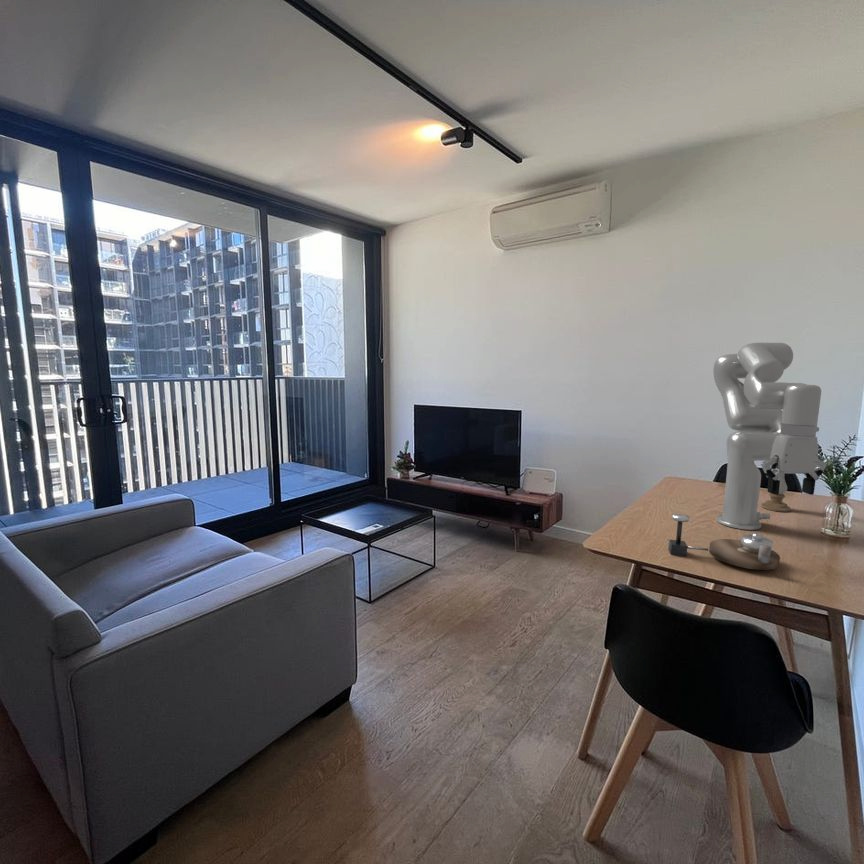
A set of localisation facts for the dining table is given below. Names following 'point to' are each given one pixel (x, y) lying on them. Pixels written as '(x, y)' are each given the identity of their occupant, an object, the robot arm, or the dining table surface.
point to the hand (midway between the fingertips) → (790, 493)
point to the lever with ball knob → (677, 545)
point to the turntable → (744, 555)
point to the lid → (754, 543)
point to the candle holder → (777, 498)
